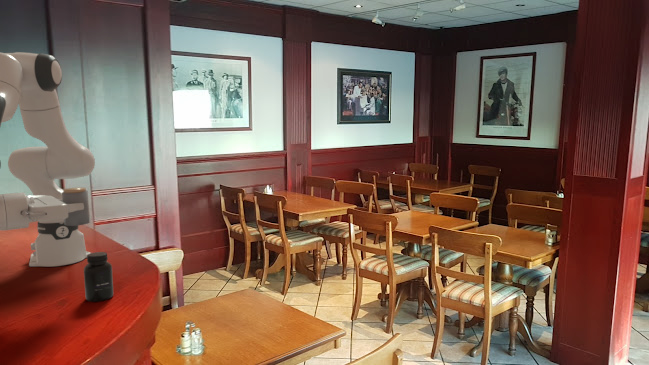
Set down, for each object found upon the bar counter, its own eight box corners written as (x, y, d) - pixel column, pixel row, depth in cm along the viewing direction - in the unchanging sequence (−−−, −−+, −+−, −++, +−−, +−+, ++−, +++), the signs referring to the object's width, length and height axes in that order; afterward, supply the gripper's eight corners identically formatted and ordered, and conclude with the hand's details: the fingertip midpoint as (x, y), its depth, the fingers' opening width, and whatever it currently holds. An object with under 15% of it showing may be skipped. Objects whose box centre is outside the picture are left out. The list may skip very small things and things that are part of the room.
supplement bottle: (103, 303, 125) (99, 258, 124) (80, 301, 127) (76, 257, 125) (119, 293, 132) (116, 251, 130) (97, 292, 133) (93, 250, 132)
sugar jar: (62, 223, 128) (59, 188, 127) (86, 220, 131) (84, 186, 130) (67, 226, 123) (64, 191, 122) (92, 223, 127) (89, 188, 126)
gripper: (23, 203, 110) (88, 196, 119) (11, 193, 126) (70, 188, 135) (26, 230, 111) (90, 221, 120) (13, 217, 127) (71, 210, 135)
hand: (79, 204), depth 127 cm, fingers closed on sugar jar, 6 cm apart
